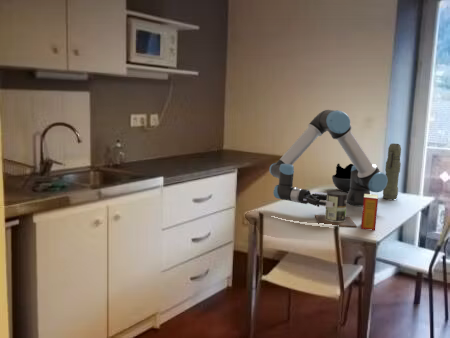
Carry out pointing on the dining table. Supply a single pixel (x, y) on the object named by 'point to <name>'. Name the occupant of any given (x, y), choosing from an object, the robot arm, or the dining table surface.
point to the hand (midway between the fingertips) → (338, 202)
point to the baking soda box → (369, 211)
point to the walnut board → (347, 222)
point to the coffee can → (336, 206)
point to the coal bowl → (342, 177)
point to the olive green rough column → (392, 171)
